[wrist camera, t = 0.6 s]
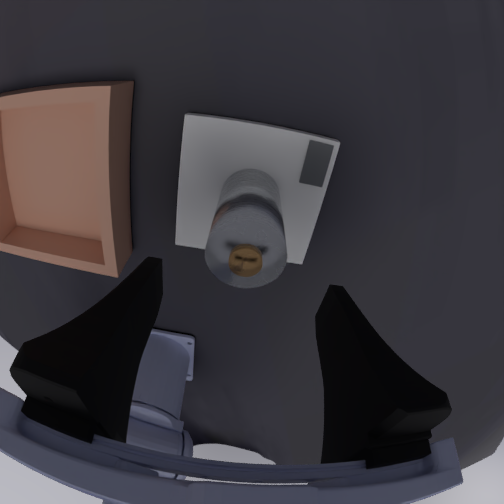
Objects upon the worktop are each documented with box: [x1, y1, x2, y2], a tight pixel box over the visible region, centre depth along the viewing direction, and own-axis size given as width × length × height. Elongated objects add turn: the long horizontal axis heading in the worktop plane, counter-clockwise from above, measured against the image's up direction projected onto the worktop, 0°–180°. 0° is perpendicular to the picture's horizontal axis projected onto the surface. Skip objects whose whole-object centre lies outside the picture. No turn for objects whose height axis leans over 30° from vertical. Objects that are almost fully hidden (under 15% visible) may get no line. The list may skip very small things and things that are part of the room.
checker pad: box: [175, 113, 340, 264], centre depth 20 cm, size 10×10×1 cm
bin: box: [0, 81, 134, 277], centre depth 18 cm, size 14×14×4 cm
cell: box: [205, 169, 287, 288], centre depth 17 cm, size 4×4×8 cm
